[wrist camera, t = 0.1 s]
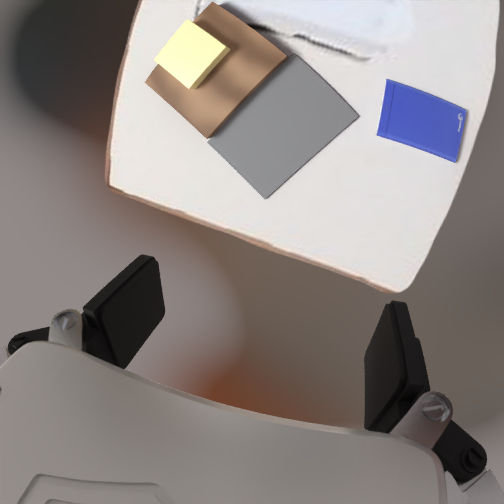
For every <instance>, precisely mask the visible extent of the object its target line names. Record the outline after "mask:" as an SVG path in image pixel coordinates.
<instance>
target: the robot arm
mask: <svg viewBox="0 0 504 504" xmlns="http://www.w3.org/2000/svg"><path fill="white" fill-rule="evenodd" d="M83 310H84V312H83V313H82V314H81V313H80V312H79V311H77V310H74V309H66V310H63V311H61V312H59V313H57V314H56V315H55V316H54V317H53V319H52V320H51V323H50V327H46V328H41V329H36V330H32V331H28V332H23V333H20V334H17V335H15V336H14V337H13V338H12V339H11V341H10V342H9V344H8V348H6V346H3V347H1V348H0V504H504V493H503V491H502V489H501V487H500V485H499V483H498V482H497V480H496V478H495V477H494V475H493V473H492V471H491V470H490V469H489V470H488V471H487V470H486V468H485V466H486V463H487V455H486V452H485V450H484V448H483V447H482V446H481V445H480V444H479V443H478V442H477V441H476V440H474V439H473V438H472V437H471V436H470V435H469V434H467V433H466V432H465V431H464V430H463V429H462V428H460V427H459V426H458V425H457V424H456V423H455V422H453V421H452V420H451V418H452V415H453V407H452V404H451V402H450V400H449V399H448V398H447V397H446V396H445V395H444V394H442V393H440V392H436V391H430V386H429V380H428V375H427V370H426V366H425V361H424V356H423V352H422V348H421V344H420V341H419V339H418V338H416V337H415V334H414V330H413V326H412V322H411V319H410V315H409V311H408V307H407V304H406V303H405V302H399V301H391V303H390V304H386V305H385V308H384V310H383V313H382V315H381V318H380V320H379V323H378V325H377V327H376V330H375V332H374V334H373V337H372V339H371V341H370V344H369V346H368V348H367V350H366V353H365V358H364V364H365V422H364V428H365V429H366V430H368V431H366V430H359V429H349V428H341V427H334V426H327V425H320V424H314V423H307V422H301V421H295V420H290V419H285V418H279V417H275V416H269V415H265V414H260V413H256V412H252V411H248V410H244V409H240V408H236V407H232V406H228V405H224V404H221V403H218V402H214V401H211V400H207V399H204V398H201V397H197V396H194V395H191V394H188V393H185V392H182V391H179V390H176V389H173V388H170V387H167V386H165V385H162V384H159V383H157V382H154V381H151V380H149V379H146V378H143V377H141V376H138V375H136V374H133V373H131V372H129V371H126V370H124V369H125V368H126V367H127V366H128V364H129V363H130V362H131V360H132V359H133V357H134V356H135V355H136V353H137V352H138V351H139V349H140V348H141V347H142V345H143V344H144V342H145V341H146V340H147V339H148V337H149V336H150V334H151V333H152V332H153V330H154V329H155V328H156V326H157V325H158V324H159V322H160V321H161V320H162V318H163V317H164V315H165V306H164V300H163V293H162V286H161V279H160V272H159V265H158V262H157V261H156V260H155V258H154V257H152V256H148V255H140V256H139V257H137V258H136V259H135V260H134V261H133V262H132V263H131V264H129V265H128V266H127V267H126V268H125V269H124V270H123V271H122V272H120V273H119V274H118V275H117V276H116V277H115V278H114V279H113V280H112V281H111V282H109V283H108V284H107V285H106V286H105V287H104V288H103V289H102V290H101V291H100V292H98V293H97V294H96V295H95V296H94V297H93V298H92V299H91V300H90V301H89V302H88V303H87V304H86V305H85V306H84V307H83Z"/></svg>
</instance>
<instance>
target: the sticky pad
mask: <svg viewBox="0 0 504 504" xmlns="http://www.w3.org/2000/svg"><path fill="white" fill-rule="evenodd" d="M230 50H231V49H230V48H228V47H227V46H226V45H224V44H223V43H222V42H220V41H219V40H218V39H216V38H215V37H214V36H212V35H211V34H209V33H208V32H207V31H205V30H204V29H202V28H201V27H200V26H198V25H197V24H195V23H194V22H192V21H190V20H188V19H187V20H186V22H185V23H184V24H183V25H182V26H181V27H180V28H179V30H178V31H177V32H176V33H175V34H174V35H173V37H172V38H171V39H170V40H169V42H168V43H167V44H166V45H165V46H164V48H163V49H162V50H161V52H160V53H159V54H158V55H157V57H156V58H155V59H154V60H155V61H156V62H157V63H158V64H160V65H161V66H162V67H163V68H164V69H166V70H167V71H168V72H169V73H171V74H172V75H173V76H174V77H175V78H177V79H178V80H179V81H180V82H181V83H182V84H184V85H185V86H186V87H187V88H188V89H196V88H197V87H198V86H199V84H200V83H201V82H202V81H203V80H204V79H205V77H206V76H207V75H208V74H209V73H210V72H211V71H212V70H213V68H214V67H215V66H216V65H217V64H218V63H219V62H220V61H221V60H222V59H223V58H224V56H225V55H226V54H227V53H228V52H229V51H230Z"/></svg>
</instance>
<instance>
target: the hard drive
mask: <svg viewBox="0 0 504 504" xmlns="http://www.w3.org/2000/svg"><path fill="white" fill-rule="evenodd" d="M465 117H466V110H465V109H463V108H461V107H459V106H457V105H455V104H452V103H450V102H448V101H445V100H443V99H441V98H438V97H436V96H434V95H431V94H428V93H426V92H423V91H421V90H418V89H415V88H412V87H409V86H407V85H404V84H401V83H397V82H394V81H392V80H388V79H386V80H385V86H384V93H383V99H382V104H381V110H380V116H379V121H378V126H377V131H376V135H377V136H380V137H383V138H387V139H390V140H393V141H396V142H399V143H403V144H406V145H409V146H411V147H414V148H417V149H420V150H423V151H426V152H428V153H431V154H434V155H436V156H439V157H442V158H444V159H447V160H449V161H451V162H454V163H455V162H456V160H457V156H458V151H459V147H460V142H461V138H462V133H463V128H464V122H465Z"/></svg>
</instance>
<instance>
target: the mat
mask: <svg viewBox="0 0 504 504" xmlns="http://www.w3.org/2000/svg"><path fill="white" fill-rule="evenodd" d="M357 117H358V115H357V114H356V113H355V112H354V111H353V110H352V108H351V107H350V106H349V105H348V104H347V103H346V102H345V101H344V100H343V99H342V98H341V97H340V96H339V95H338V94H337V93H336V92H335V91H334V90H333V89H332V88H331V87H330V86H329V85H328V84H327V83H326V82H325V81H324V80H323V79H322V78H321V77H320V76H319V75H318V74H317V73H315V72H314V71H313V70H312V69H311V68H310V67H309V66H308V65H307V64H305V63H304V62H303V61H302V60H301V59H300V58H299V57H297V56H296V55H295V54H293V55H292V56H290V57H289V58H288V59H287V60H286V61H285V62H284V63H283V64H282V65H281V66H280V67H279V68H278V69H277V70H275V71H274V72H273V73H272V74H271V75H270V76H269V77H268V78H267V79H266V80H265V81H264V82H263V83H262V84H261V85H260V86H259V87H258V88H257V89H256V90H255V91H254V92H253V93H252V94H251V95H250V96H249V97H248V98H247V99H246V100H245V101H244V102H243V103H242V105H241V106H240V107H239V108H238V109H237V110H236V111H235V112H234V113H233V114H232V115H231V116H230V117H229V118H228V120H227V121H226V122H225V123H224V124H223V125H222V126H221V127H220V128H219V129H218V131H217V132H216V133H215V134H214V135H213V136H212V137H211V139H210V140H209V141H208V142H207V143H208V144H209V145H210V146H212V147H213V148H214V149H215V150H216V151H217V152H218V153H219V154H220V155H221V156H222V157H223V158H224V159H225V160H226V161H227V162H228V163H229V164H230V165H231V166H232V167H233V168H234V169H235V170H236V171H237V172H238V173H239V174H240V175H241V176H242V177H243V178H244V179H245V180H246V181H247V182H248V183H249V184H250V185H251V186H252V187H253V188H254V189H255V190H256V191H257V192H258V193H259V194H260V195H261V196H262V197H263V198H264V199H266V198H267V197H268V196H269V195H270V194H272V193H273V192H274V191H275V190H276V189H277V188H278V187H279V186H280V185H281V184H283V183H284V182H285V181H286V180H287V179H288V178H289V177H290V176H291V175H292V174H294V173H295V172H296V171H297V170H298V169H299V168H300V167H301V166H302V165H304V164H305V163H306V162H307V161H308V160H309V159H310V158H311V157H313V156H314V155H315V154H316V153H317V152H318V151H319V150H321V149H322V148H323V147H324V146H325V145H326V144H327V143H328V142H330V141H331V140H332V139H333V138H334V137H335V136H336V135H338V134H339V133H340V132H341V131H342V130H343V129H345V128H346V127H347V126H348V125H349V124H350V123H351V122H353V121H354V120H355V119H356V118H357Z"/></svg>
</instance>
